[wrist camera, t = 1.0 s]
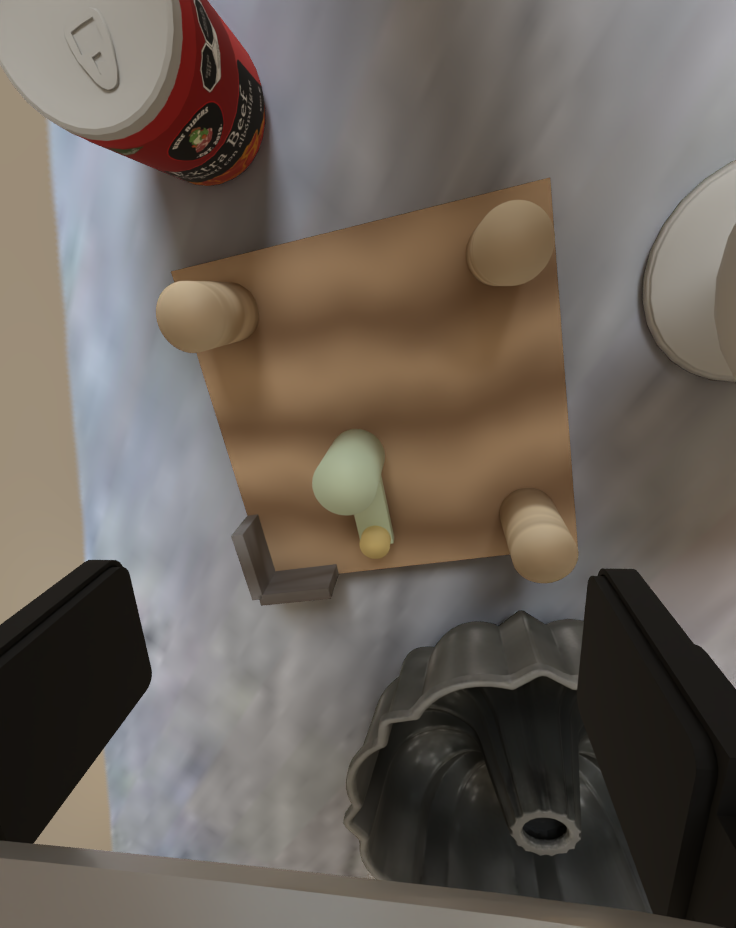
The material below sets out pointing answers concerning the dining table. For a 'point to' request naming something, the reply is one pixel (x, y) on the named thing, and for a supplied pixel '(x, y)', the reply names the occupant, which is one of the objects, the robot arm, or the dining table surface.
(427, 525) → the stool board
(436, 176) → the dining table surface
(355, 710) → the dining table surface
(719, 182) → the chalice
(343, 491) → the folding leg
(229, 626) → the dining table surface
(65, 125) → the canned food
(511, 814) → the bundt pan
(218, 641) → the dining table surface
